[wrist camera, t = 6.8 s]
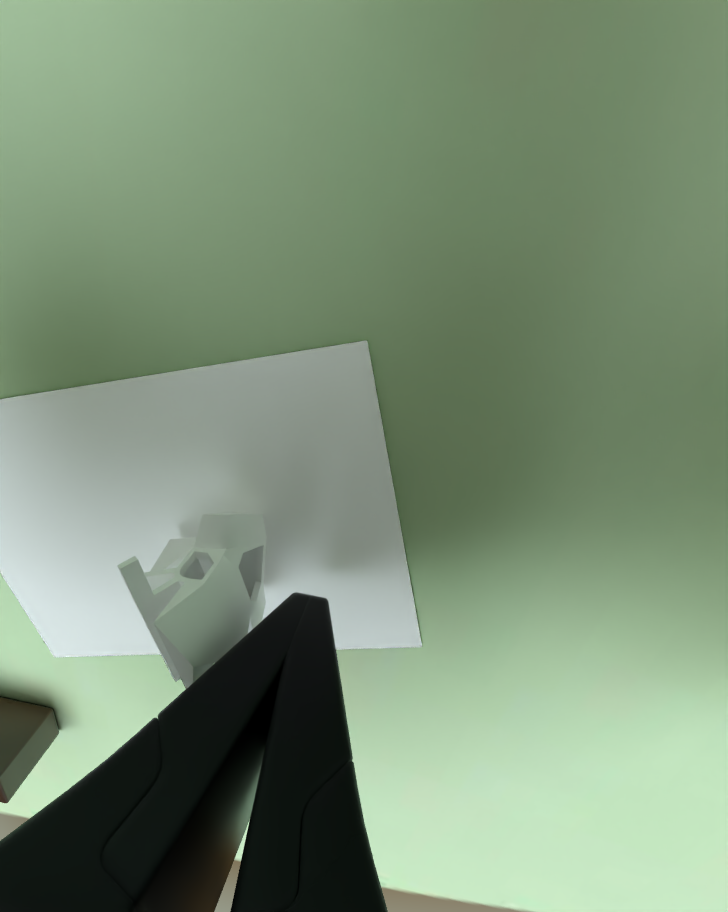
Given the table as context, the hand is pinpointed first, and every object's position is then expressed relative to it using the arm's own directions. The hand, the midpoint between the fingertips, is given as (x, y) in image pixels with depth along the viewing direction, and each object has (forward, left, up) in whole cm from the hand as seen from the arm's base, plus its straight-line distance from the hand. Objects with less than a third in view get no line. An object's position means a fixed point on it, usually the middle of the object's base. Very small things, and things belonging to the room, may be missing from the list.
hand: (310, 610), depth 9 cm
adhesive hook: (+3, 0, -1) cm, 4 cm away
